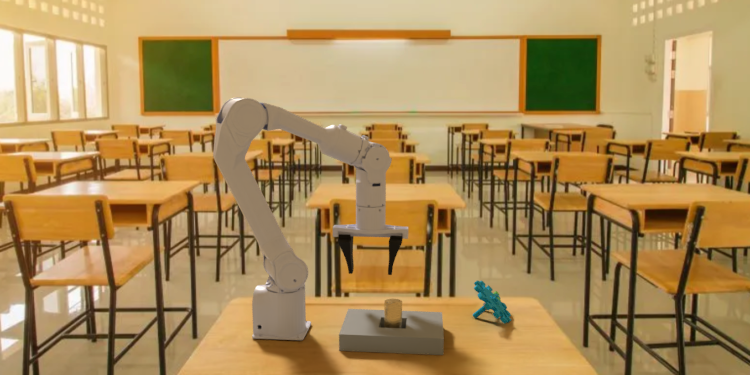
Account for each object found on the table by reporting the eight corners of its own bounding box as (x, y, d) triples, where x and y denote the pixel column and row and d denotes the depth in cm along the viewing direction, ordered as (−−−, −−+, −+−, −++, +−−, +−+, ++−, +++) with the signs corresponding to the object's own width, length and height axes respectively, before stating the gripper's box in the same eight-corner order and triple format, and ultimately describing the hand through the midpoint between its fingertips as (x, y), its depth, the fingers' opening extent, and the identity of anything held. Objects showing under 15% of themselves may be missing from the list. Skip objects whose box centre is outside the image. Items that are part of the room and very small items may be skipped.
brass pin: (383, 341, 106) (383, 304, 105) (384, 334, 109) (385, 298, 108) (401, 342, 105) (401, 305, 104) (402, 335, 109) (402, 299, 107)
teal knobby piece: (509, 324, 109) (474, 282, 112) (485, 343, 111) (451, 301, 114) (518, 312, 120) (486, 273, 122) (496, 329, 121) (465, 291, 124)
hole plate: (339, 350, 102) (339, 334, 102) (348, 323, 114) (348, 308, 113) (443, 355, 100) (443, 338, 100) (441, 327, 112) (442, 312, 112)
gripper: (409, 201, 116) (408, 267, 118) (336, 199, 117) (337, 265, 119) (408, 208, 109) (407, 278, 111) (330, 206, 110) (331, 276, 112)
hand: (370, 272), depth 115 cm, fingers open, 7 cm apart
